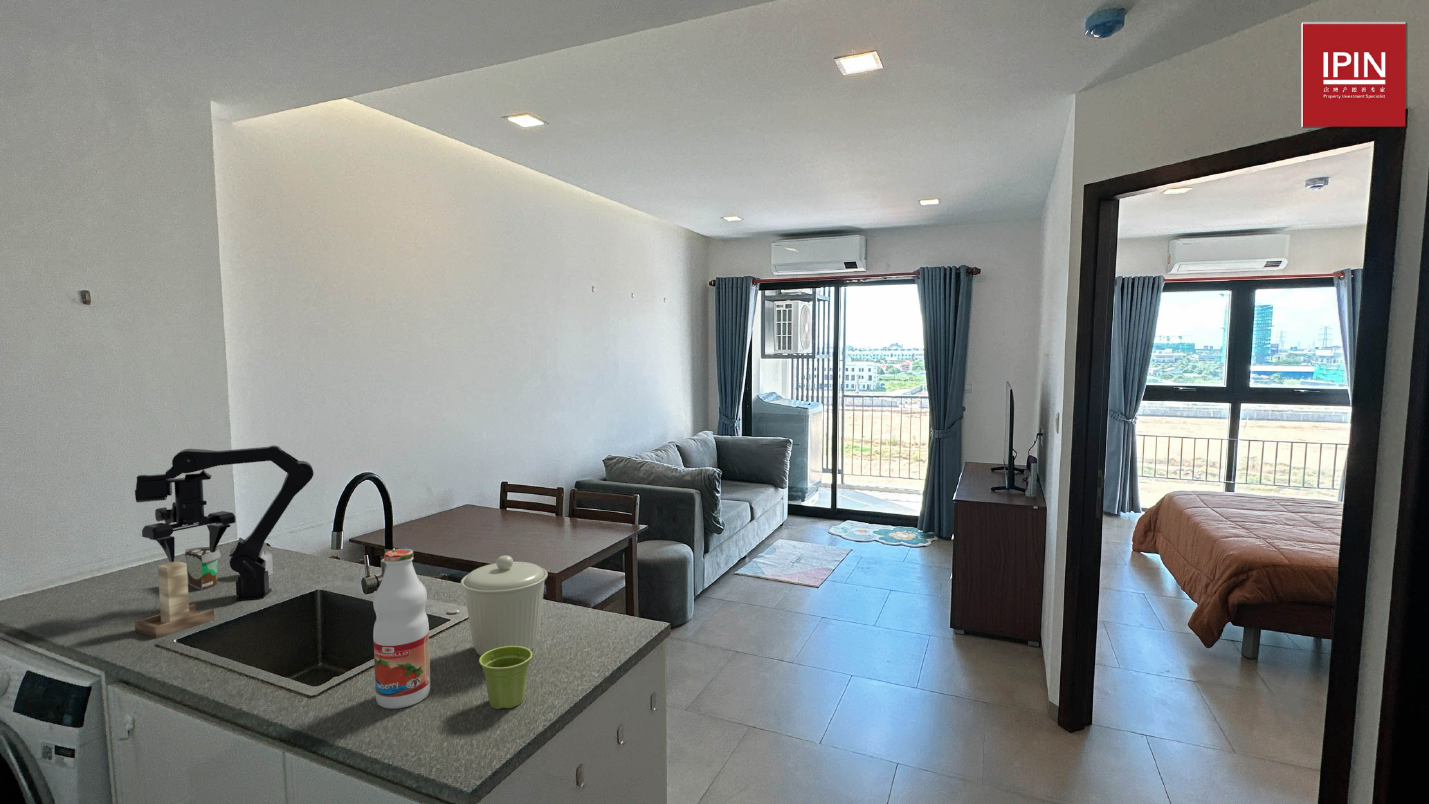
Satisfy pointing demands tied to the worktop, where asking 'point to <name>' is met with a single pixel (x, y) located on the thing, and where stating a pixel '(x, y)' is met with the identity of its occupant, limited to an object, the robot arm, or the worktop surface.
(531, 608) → the canister
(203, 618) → the walnut rack
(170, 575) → the birch peg
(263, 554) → the tea bag
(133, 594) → the worktop surface
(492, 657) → the plant pot
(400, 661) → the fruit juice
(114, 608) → the worktop surface
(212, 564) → the food container
